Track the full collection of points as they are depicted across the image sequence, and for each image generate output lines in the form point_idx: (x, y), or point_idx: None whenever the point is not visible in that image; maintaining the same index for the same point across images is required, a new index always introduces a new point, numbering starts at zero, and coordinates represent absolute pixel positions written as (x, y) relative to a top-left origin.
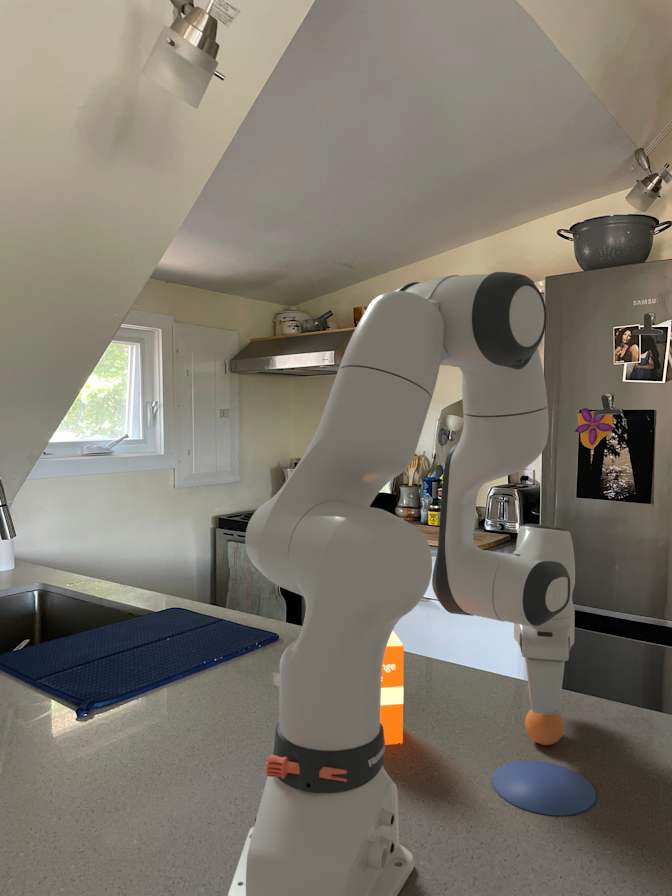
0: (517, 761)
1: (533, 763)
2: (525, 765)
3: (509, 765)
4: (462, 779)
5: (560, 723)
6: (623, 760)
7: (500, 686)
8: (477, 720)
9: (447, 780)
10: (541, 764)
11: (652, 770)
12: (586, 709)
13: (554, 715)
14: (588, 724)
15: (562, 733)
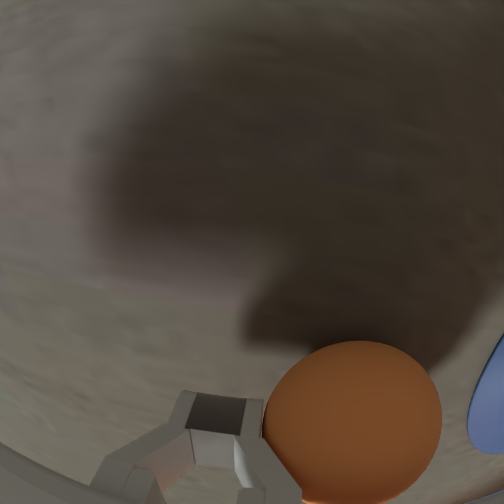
0: (469, 430)
1: (486, 398)
2: (490, 412)
3: (481, 439)
4: (495, 479)
5: (422, 397)
6: (443, 73)
7: (4, 395)
8: (218, 492)
9: (490, 490)
10: (495, 380)
11: (478, 2)
12: (4, 177)
13: (420, 449)
14: (108, 172)
15: (403, 353)
